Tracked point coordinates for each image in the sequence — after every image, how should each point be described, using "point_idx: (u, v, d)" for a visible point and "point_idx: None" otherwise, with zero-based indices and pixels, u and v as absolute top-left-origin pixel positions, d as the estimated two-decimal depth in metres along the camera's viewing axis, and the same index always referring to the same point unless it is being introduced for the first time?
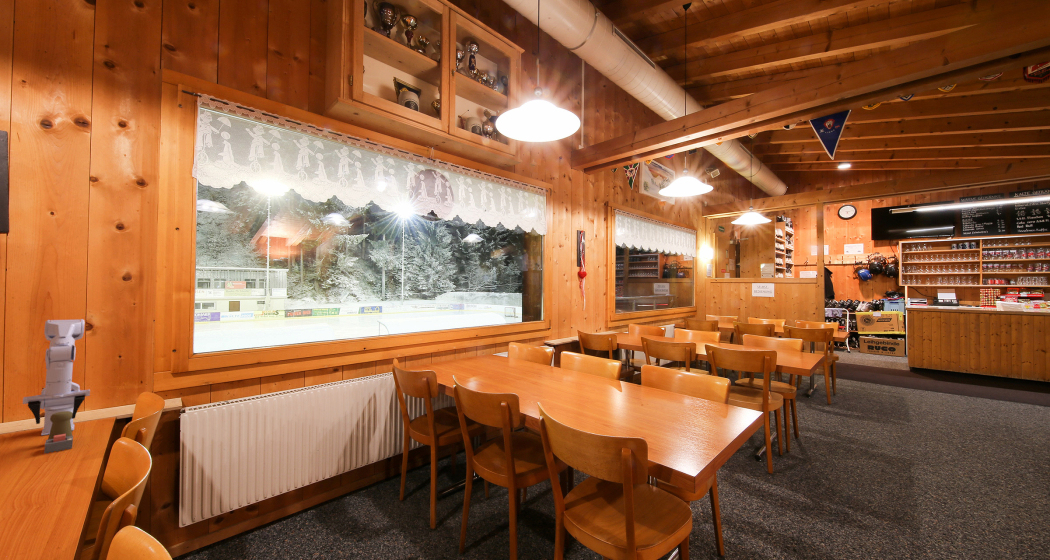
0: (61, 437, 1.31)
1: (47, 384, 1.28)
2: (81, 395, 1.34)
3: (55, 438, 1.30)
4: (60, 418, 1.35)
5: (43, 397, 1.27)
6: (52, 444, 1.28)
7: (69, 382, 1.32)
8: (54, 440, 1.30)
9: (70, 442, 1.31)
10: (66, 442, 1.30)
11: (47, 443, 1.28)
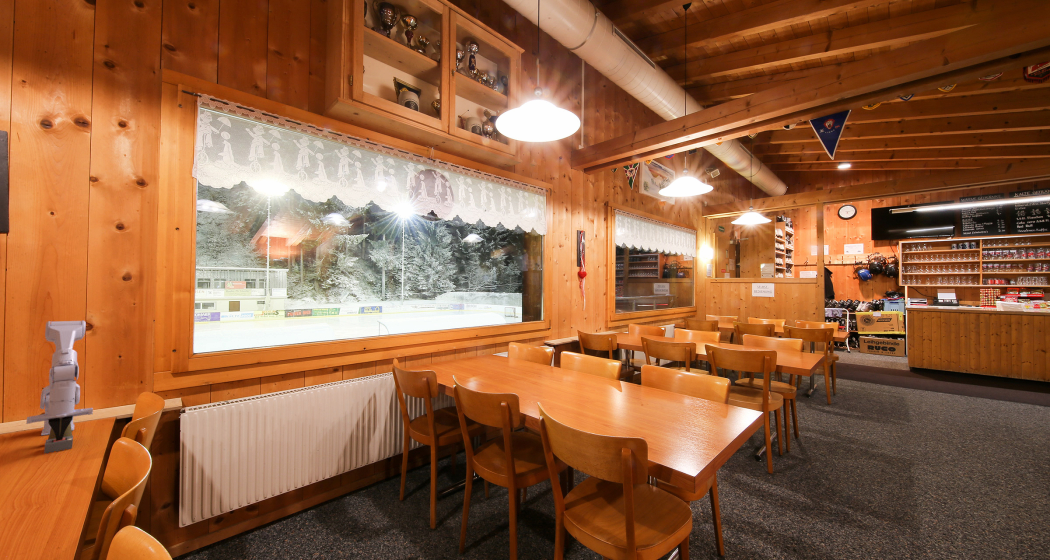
0: None
1: (50, 404, 1.29)
2: (84, 414, 1.35)
3: None
4: (60, 418, 1.35)
5: (46, 417, 1.28)
6: (52, 444, 1.28)
7: (72, 401, 1.33)
8: None
9: (70, 442, 1.31)
10: (66, 442, 1.30)
11: (47, 443, 1.28)
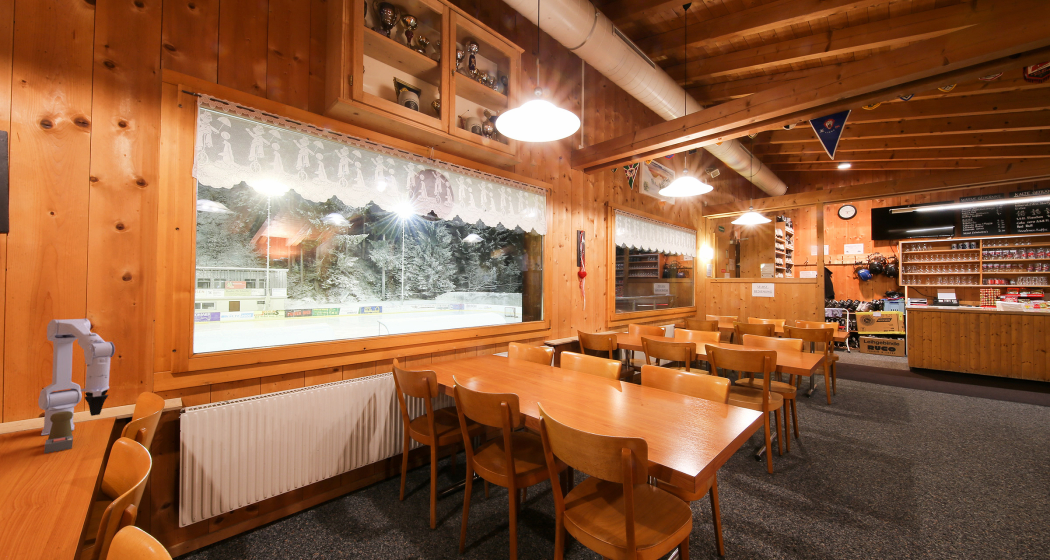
0: None
1: None
2: None
3: None
4: (60, 418, 1.35)
5: None
6: (52, 444, 1.28)
7: (91, 379, 1.36)
8: None
9: (70, 442, 1.31)
10: (66, 442, 1.30)
11: (47, 443, 1.28)
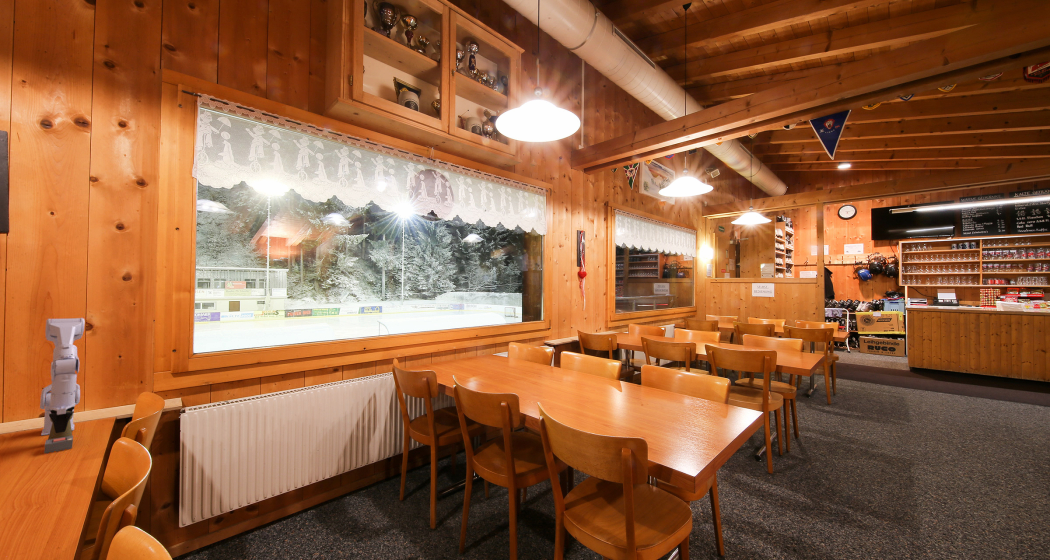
0: None
1: None
2: None
3: None
4: None
5: None
6: (52, 444, 1.28)
7: (56, 396, 1.34)
8: None
9: (70, 442, 1.31)
10: (66, 442, 1.30)
11: (47, 443, 1.28)
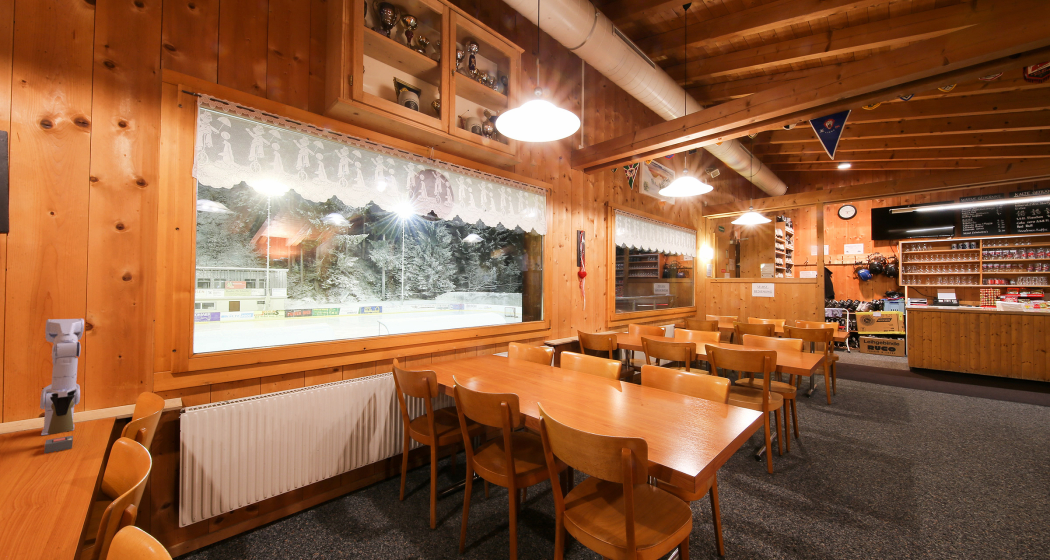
0: None
1: None
2: None
3: None
4: None
5: None
6: (52, 444, 1.28)
7: (57, 379, 1.34)
8: None
9: (70, 442, 1.31)
10: (66, 442, 1.30)
11: (47, 443, 1.28)
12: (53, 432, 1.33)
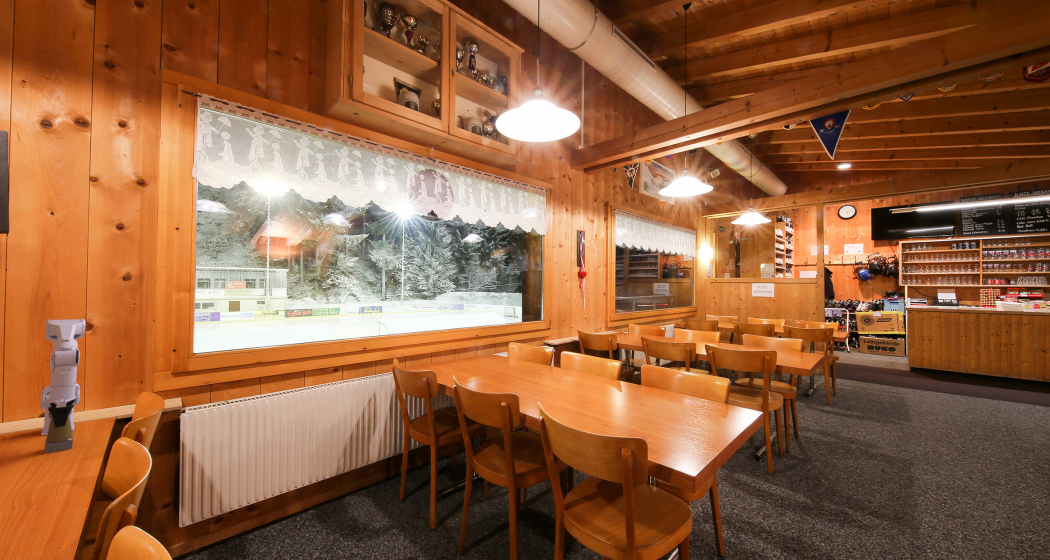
0: None
1: None
2: None
3: None
4: None
5: None
6: (52, 444, 1.28)
7: (55, 388, 1.29)
8: None
9: (70, 442, 1.31)
10: (66, 442, 1.30)
11: (47, 443, 1.28)
12: (51, 441, 1.28)
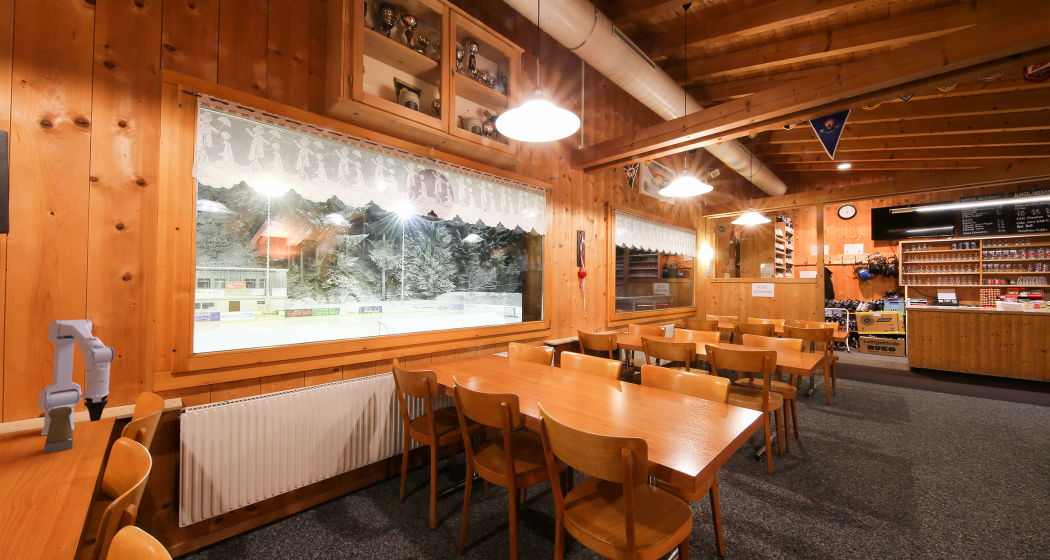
0: None
1: None
2: None
3: None
4: (58, 414, 1.30)
5: None
6: (52, 444, 1.28)
7: (91, 384, 1.36)
8: None
9: (70, 442, 1.31)
10: (66, 442, 1.30)
11: (47, 443, 1.28)
12: (51, 441, 1.28)
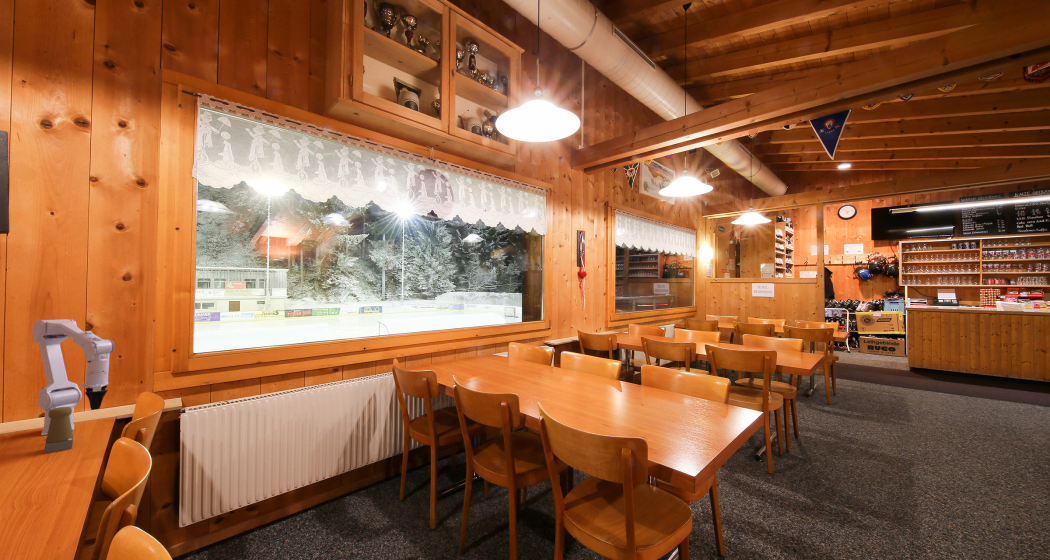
0: None
1: None
2: None
3: None
4: (58, 414, 1.30)
5: None
6: (52, 444, 1.28)
7: (91, 374, 1.43)
8: None
9: (70, 442, 1.31)
10: (66, 442, 1.30)
11: (47, 443, 1.28)
12: (51, 441, 1.28)
